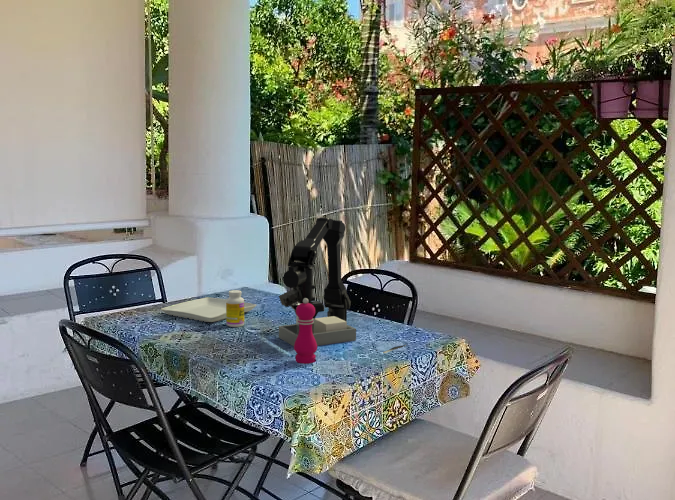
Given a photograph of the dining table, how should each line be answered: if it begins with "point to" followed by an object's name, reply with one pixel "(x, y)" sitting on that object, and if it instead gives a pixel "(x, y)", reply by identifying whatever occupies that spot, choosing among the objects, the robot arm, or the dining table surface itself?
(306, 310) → the pepper mill
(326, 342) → the tote
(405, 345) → the butter knife
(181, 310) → the square plate
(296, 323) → the tin
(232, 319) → the supplement bottle
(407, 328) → the dining table surface
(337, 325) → the cream hollow cover
